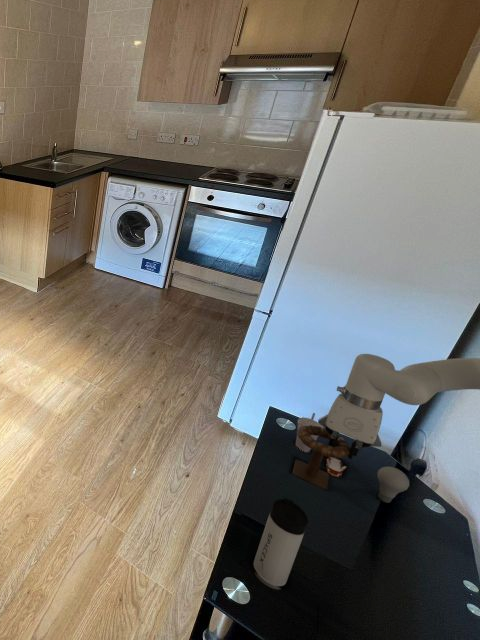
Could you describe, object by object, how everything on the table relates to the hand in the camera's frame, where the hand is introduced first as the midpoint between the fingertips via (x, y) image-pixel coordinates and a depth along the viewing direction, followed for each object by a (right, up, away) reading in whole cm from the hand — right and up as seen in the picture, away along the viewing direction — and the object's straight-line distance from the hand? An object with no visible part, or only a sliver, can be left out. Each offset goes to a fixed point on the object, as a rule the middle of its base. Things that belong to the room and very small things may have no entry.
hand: (341, 451), depth 115 cm
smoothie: (+3, -7, +17) cm, 19 cm away
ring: (-3, +2, +2) cm, 4 cm away
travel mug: (-37, -19, -21) cm, 46 cm away
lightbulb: (+11, -14, -1) cm, 17 cm away
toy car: (+6, -10, +9) cm, 15 cm away
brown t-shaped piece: (-3, -11, +6) cm, 13 cm away
